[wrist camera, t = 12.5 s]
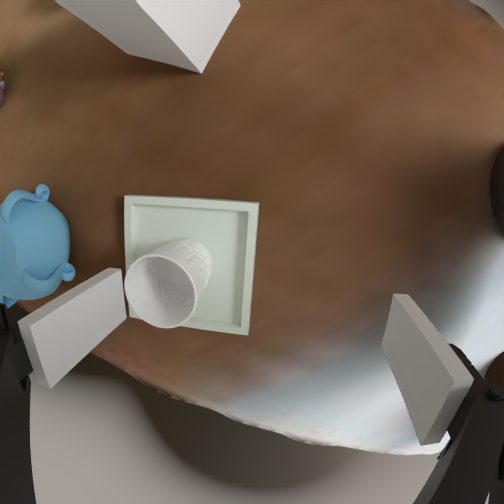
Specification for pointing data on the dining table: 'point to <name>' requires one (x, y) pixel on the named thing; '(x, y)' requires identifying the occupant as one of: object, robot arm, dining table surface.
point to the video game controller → (2, 88)
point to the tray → (213, 239)
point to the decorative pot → (32, 246)
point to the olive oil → (496, 371)
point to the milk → (160, 27)
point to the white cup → (169, 282)
